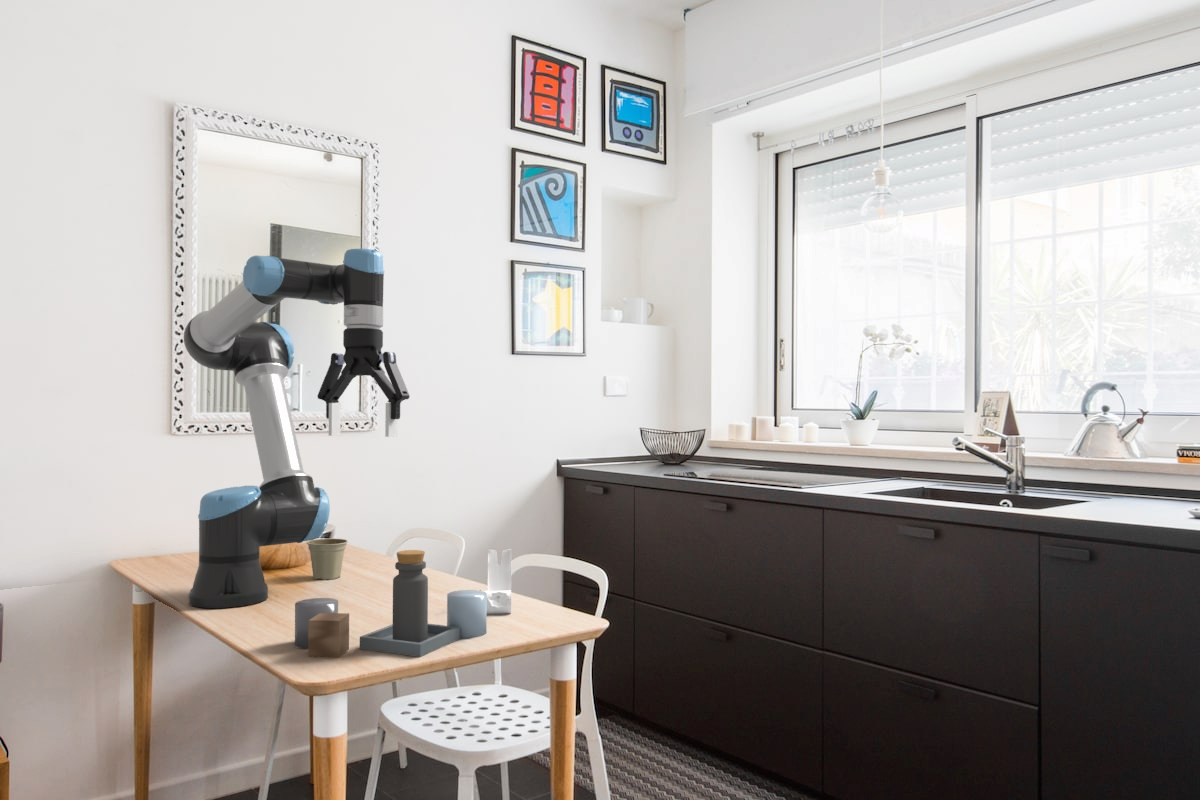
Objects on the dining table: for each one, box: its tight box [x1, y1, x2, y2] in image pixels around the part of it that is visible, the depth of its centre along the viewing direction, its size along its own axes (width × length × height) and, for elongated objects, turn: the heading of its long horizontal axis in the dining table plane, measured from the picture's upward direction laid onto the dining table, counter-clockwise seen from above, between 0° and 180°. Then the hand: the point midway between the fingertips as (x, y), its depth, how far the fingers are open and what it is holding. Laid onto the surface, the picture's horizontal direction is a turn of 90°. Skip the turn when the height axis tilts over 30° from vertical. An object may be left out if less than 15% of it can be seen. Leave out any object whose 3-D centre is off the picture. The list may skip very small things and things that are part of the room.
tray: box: [359, 623, 461, 658], centre depth 147 cm, size 12×12×2 cm
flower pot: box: [306, 538, 349, 581], centre depth 204 cm, size 9×9×9 cm
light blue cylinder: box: [446, 589, 488, 639], centre depth 154 cm, size 7×7×7 cm
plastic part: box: [479, 548, 512, 615], centre depth 172 cm, size 8×10×12 cm
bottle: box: [392, 549, 429, 643], centre depth 147 cm, size 6×6×15 cm
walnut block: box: [307, 612, 350, 659], centre depth 141 cm, size 5×5×6 cm
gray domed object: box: [294, 597, 339, 650], centre depth 147 cm, size 7×7×7 cm
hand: (362, 436), depth 169 cm, fingers open, 13 cm apart
